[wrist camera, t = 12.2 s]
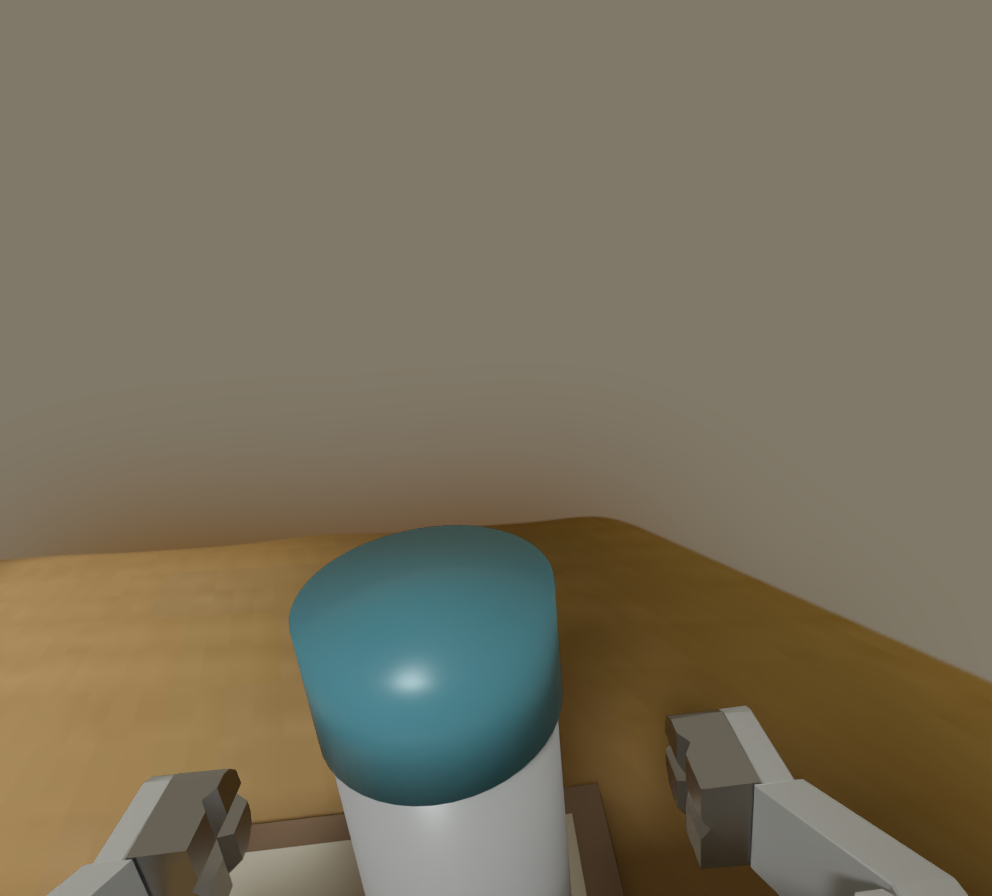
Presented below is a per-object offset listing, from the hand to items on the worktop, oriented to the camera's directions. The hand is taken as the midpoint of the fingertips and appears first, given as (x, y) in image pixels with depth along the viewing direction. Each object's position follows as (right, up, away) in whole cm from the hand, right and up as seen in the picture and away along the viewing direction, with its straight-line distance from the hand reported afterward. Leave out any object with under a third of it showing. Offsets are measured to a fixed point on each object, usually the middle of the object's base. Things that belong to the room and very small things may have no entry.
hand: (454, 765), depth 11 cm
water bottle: (+1, -7, +2) cm, 7 cm away
